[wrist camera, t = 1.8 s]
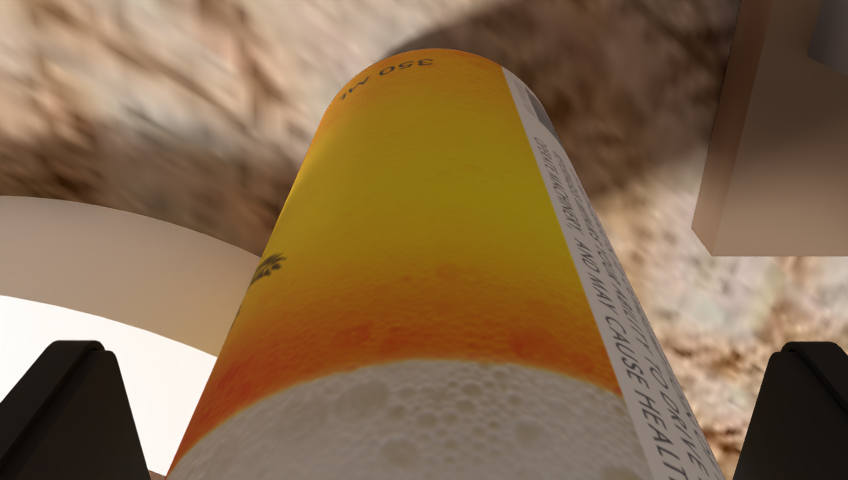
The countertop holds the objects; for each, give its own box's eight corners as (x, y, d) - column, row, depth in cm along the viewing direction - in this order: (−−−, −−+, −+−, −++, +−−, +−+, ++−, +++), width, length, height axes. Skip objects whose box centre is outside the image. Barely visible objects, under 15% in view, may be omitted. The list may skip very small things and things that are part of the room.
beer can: (268, 148, 17) (-281, 1090, 4) (449, -16, 15) (593, 768, 2) (423, 297, 19) (409, 1217, 6) (599, 171, 17) (1143, 1129, 4)
